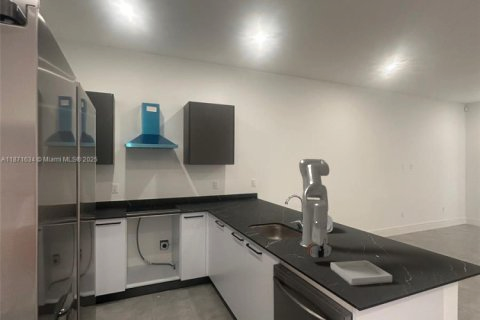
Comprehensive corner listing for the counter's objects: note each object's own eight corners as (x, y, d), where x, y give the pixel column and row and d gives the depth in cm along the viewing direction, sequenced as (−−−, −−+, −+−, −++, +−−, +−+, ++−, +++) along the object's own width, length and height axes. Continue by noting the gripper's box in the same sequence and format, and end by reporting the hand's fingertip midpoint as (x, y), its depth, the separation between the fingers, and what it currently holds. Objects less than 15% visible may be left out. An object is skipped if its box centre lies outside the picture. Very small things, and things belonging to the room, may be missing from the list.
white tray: (330, 268, 131) (330, 262, 131) (366, 265, 135) (366, 260, 135) (351, 285, 113) (351, 278, 113) (392, 282, 117) (392, 275, 117)
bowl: (328, 227, 213) (329, 214, 213) (332, 233, 194) (333, 219, 194) (305, 225, 217) (305, 212, 217) (307, 232, 198) (307, 217, 198)
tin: (330, 255, 142) (330, 241, 142) (333, 257, 139) (333, 243, 139) (306, 257, 140) (306, 242, 140) (308, 259, 137) (308, 244, 137)
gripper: (307, 220, 146) (307, 250, 147) (321, 229, 130) (320, 262, 131) (319, 219, 148) (318, 249, 148) (334, 228, 132) (333, 261, 132)
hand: (319, 255), depth 140 cm, fingers closed on tin, 2 cm apart
